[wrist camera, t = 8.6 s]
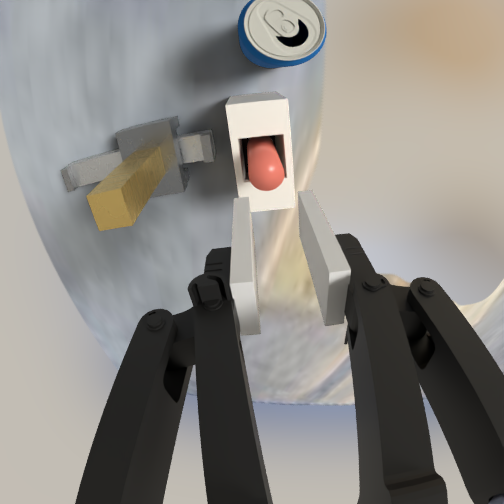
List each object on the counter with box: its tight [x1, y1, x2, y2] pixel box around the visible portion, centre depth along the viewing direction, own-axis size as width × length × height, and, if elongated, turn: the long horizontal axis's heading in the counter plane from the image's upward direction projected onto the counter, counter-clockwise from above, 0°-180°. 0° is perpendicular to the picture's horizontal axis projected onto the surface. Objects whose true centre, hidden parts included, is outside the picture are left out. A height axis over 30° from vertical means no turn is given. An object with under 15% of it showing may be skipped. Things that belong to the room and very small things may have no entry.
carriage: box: [86, 116, 190, 231], centre depth 26 cm, size 8×6×15 cm
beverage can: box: [238, 0, 326, 68], centre depth 20 cm, size 6×6×12 cm
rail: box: [61, 129, 216, 192], centre depth 31 cm, size 3×19×3 cm, turn 97°
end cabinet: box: [225, 92, 295, 212], centre depth 28 cm, size 10×5×9 cm, turn 7°
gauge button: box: [247, 136, 284, 191], centre depth 24 cm, size 3×3×8 cm
